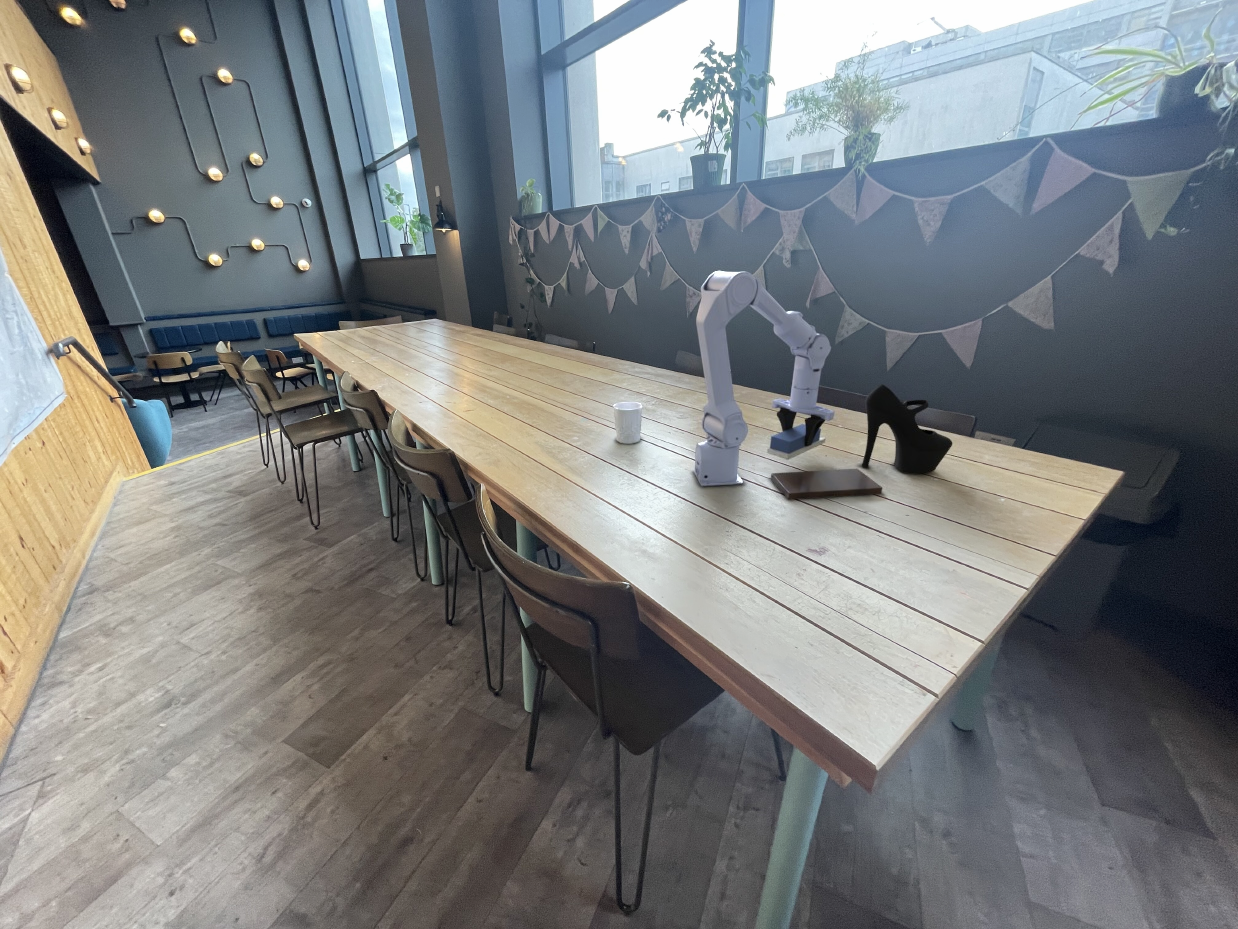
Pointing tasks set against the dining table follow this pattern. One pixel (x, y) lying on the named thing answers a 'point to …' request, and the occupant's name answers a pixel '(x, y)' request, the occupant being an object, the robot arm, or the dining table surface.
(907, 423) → the high-heeled shoe
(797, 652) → the dining table surface
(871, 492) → the shoe shelf
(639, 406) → the white cup
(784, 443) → the blue and white eraser
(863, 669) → the dining table surface
